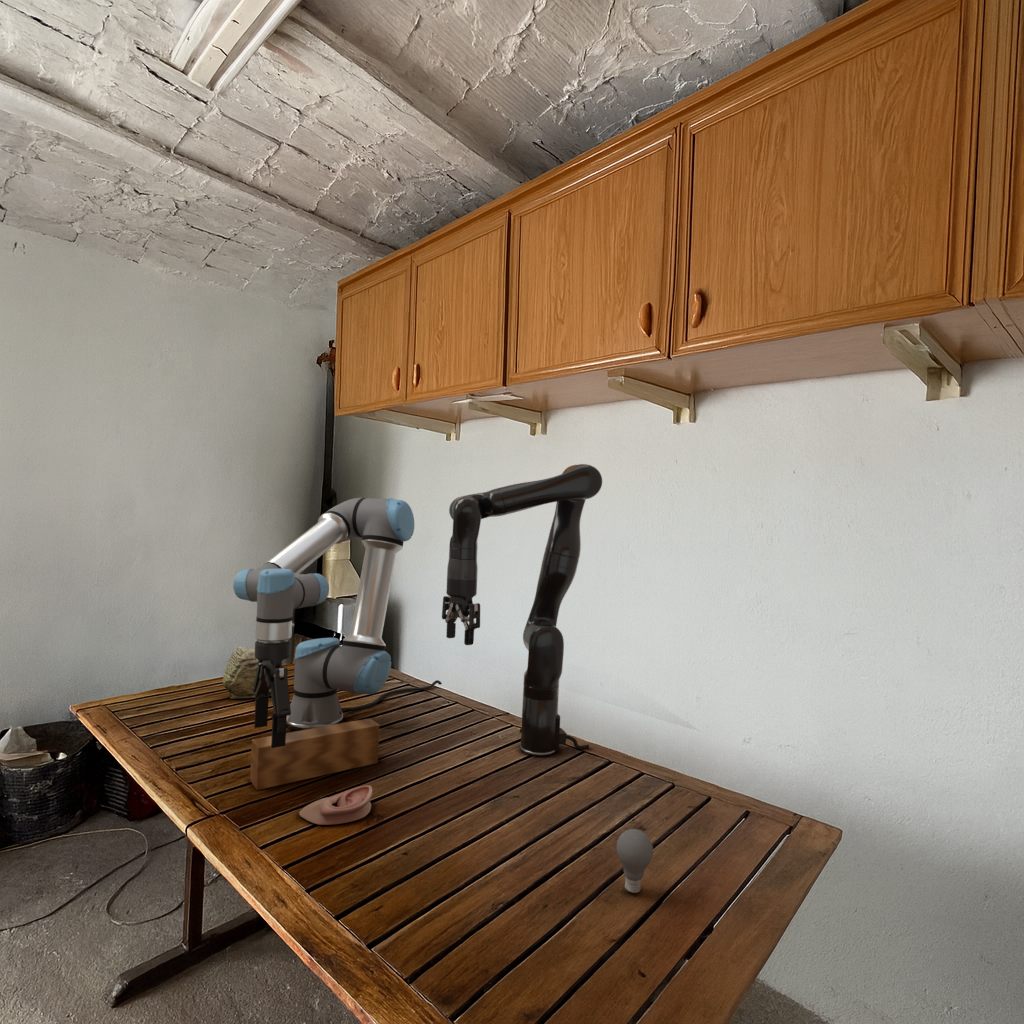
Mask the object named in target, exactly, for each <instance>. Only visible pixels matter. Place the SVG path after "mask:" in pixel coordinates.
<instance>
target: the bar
mask: <svg viewBox="0 0 1024 1024" xmlns="http://www.w3.org/2000/svg"><path fill="white" fill-rule="evenodd" d="M271 741H272V735H268V736H264V737H258V738H252V739H251V746H250V748H251V749H250V773H249V774H250V776H249V781H250V782H251V783H252V785H253V787H254V789H256V791H260V790H264V789H268V788H273V787H278V786H281V785H286V784H290V783H295V782H300V781H304V780H309V779H313V778H318V777H322V776H325V775H331V774H333V773H334V774H335V773H339V772H343V771H347V770H348V771H349V770H352V769H358V768H362V767H366V766H370V765H375V764H378V763H379V746H380V745H379V744H380V724H379V723H377V722H376V721H375V720H373V719H372V718H371V717H370V718H364V719H358V720H357V719H356V720H352V721H347V722H342V723H340V724H335V725H329V726H324V727H318V728H312V729H307V730H301V731H292V732H291V731H290V732H286V743H285V746H281V747H276V748H272V747H271Z"/></svg>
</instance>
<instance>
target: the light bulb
mask: <svg viewBox="0 0 1024 1024" xmlns="http://www.w3.org/2000/svg"><path fill="white" fill-rule="evenodd" d="M615 849H616V854H617V857H618V859H619V861H620V863H621V865H622V867H623V873H624V874H623V875H624V876H625V878H624V888H625V890H627V891H628V892H630V893H634V894H635V893H639V892H640V891H641V889H642V887H641V886H642V879H643V877H644V875H645V871H646V868H647V867H648V866H649V864H650V863H651V861H652V859H653V855H654V847H653V843H652V841H651V838H649V836H648V835H647V834H646V833H645V832H643V831H642V830H641V829H636V828H629V829H627V830H625V831H623V832H622V833H621V834H620V835H619V837H618V839H617V841H616V847H615Z"/></svg>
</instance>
